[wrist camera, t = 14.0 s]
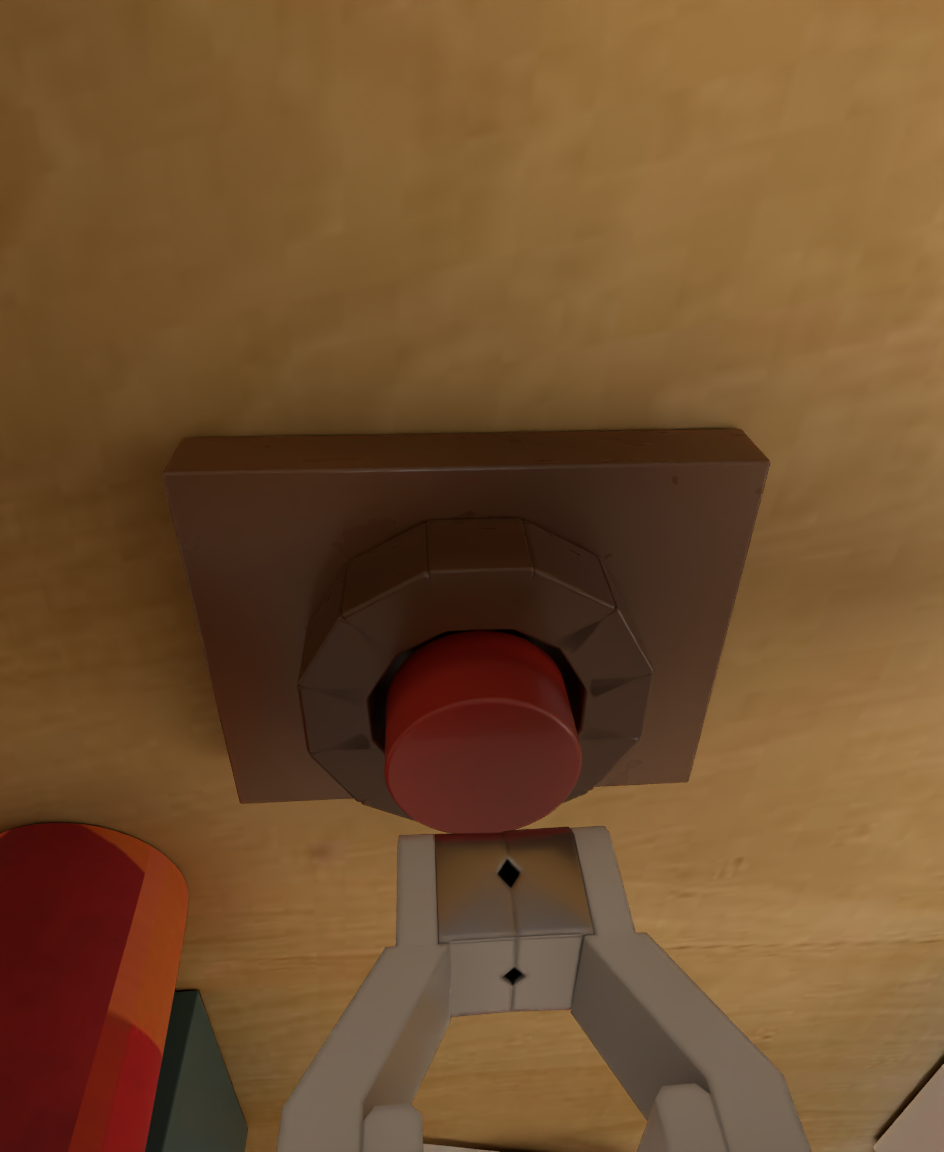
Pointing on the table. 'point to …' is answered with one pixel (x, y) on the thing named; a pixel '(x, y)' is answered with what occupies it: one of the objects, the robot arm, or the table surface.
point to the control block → (460, 586)
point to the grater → (449, 1149)
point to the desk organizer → (919, 1122)
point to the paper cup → (84, 985)
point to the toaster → (194, 1088)
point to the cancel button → (479, 734)
